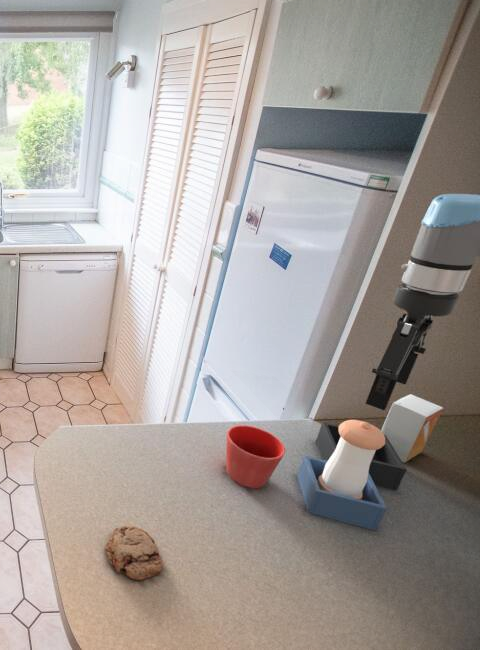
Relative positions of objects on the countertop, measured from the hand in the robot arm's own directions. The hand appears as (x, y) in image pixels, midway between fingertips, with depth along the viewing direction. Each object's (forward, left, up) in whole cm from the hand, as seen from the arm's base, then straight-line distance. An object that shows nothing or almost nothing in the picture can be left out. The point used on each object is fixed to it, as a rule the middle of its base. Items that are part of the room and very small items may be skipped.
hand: (386, 393), depth 85 cm
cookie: (+39, +33, -26) cm, 57 cm away
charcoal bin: (-5, -12, -26) cm, 29 cm away
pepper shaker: (+2, +3, -25) cm, 25 cm away
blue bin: (+2, +3, -26) cm, 26 cm away
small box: (-16, -22, -26) cm, 38 cm away
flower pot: (+18, +2, -26) cm, 32 cm away
